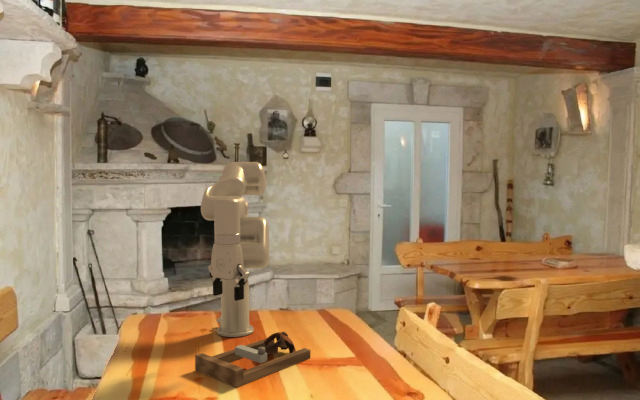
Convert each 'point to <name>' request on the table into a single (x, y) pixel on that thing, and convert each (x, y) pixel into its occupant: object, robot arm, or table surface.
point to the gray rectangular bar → (251, 353)
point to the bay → (235, 374)
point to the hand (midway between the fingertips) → (228, 297)
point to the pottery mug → (278, 343)
